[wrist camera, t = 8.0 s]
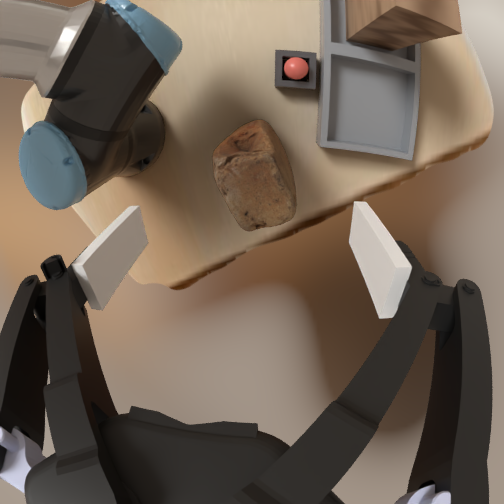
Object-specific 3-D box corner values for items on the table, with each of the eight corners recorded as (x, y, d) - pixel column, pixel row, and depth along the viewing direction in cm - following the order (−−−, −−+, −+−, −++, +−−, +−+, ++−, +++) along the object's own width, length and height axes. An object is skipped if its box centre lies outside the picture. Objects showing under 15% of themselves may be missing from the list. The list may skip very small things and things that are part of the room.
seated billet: (345, 40, 30) (396, 5, 13) (344, -12, 24) (383, -66, 7) (391, 51, 30) (461, 33, 13) (389, -1, 24) (448, -39, 7)
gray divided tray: (316, 142, 41) (319, 146, 38) (318, -25, 24) (321, -34, 21) (402, 155, 40) (412, 160, 37) (406, -3, 23) (415, -9, 20)
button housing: (274, 87, 37) (274, 86, 34) (275, 53, 33) (275, 49, 31) (312, 89, 36) (315, 89, 34) (313, 56, 33) (316, 53, 31)
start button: (283, 79, 35) (284, 77, 32) (283, 60, 33) (284, 56, 30) (305, 81, 35) (308, 79, 32) (306, 61, 33) (308, 58, 30)
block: (293, 172, 44) (306, 223, 27) (253, 187, 46) (239, 246, 29) (269, 113, 39) (265, 122, 22) (226, 130, 41) (192, 154, 24)
